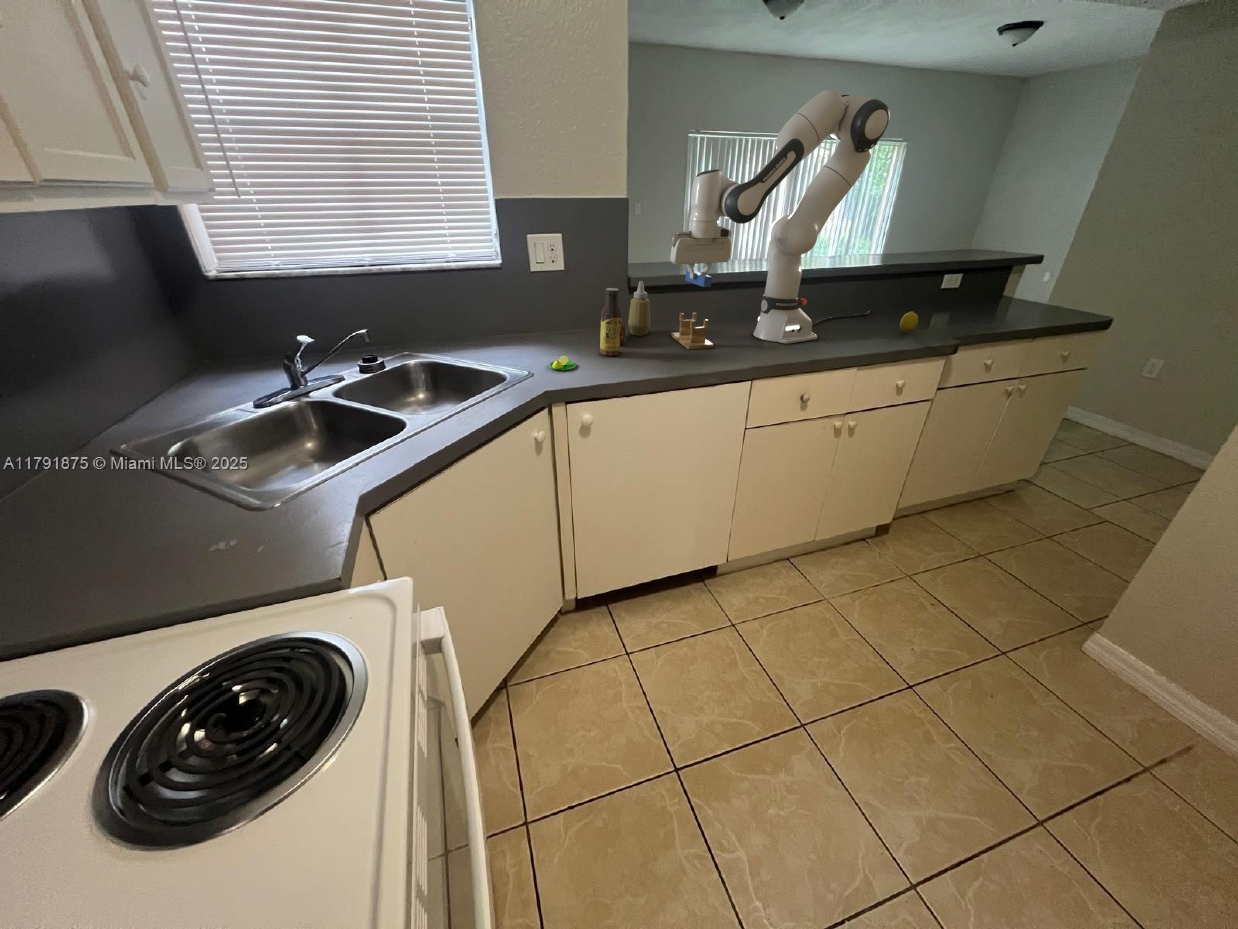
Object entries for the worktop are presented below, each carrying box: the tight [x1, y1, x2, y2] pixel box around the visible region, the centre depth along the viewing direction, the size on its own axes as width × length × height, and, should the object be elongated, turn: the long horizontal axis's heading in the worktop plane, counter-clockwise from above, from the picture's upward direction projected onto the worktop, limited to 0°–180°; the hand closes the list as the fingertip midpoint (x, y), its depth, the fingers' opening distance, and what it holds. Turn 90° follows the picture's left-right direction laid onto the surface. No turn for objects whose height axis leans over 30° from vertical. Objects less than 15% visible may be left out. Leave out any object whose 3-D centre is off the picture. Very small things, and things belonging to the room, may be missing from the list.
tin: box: [620, 318, 627, 345], centre depth 165 cm, size 15×3×8 cm, turn 20°
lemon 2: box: [548, 355, 577, 371], centre depth 143 cm, size 8×8×3 cm
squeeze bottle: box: [627, 280, 652, 337], centre depth 171 cm, size 8×8×18 cm
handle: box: [685, 270, 713, 288], centre depth 157 cm, size 12×3×3 cm, turn 22°
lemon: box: [899, 311, 919, 334], centre depth 181 cm, size 6×6×8 cm
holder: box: [670, 312, 715, 350], centre depth 166 cm, size 16×9×9 cm, turn 16°
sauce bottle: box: [599, 287, 622, 357], centre depth 150 cm, size 7×6×20 cm
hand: (698, 278), depth 157 cm, fingers closed on handle, 2 cm apart
